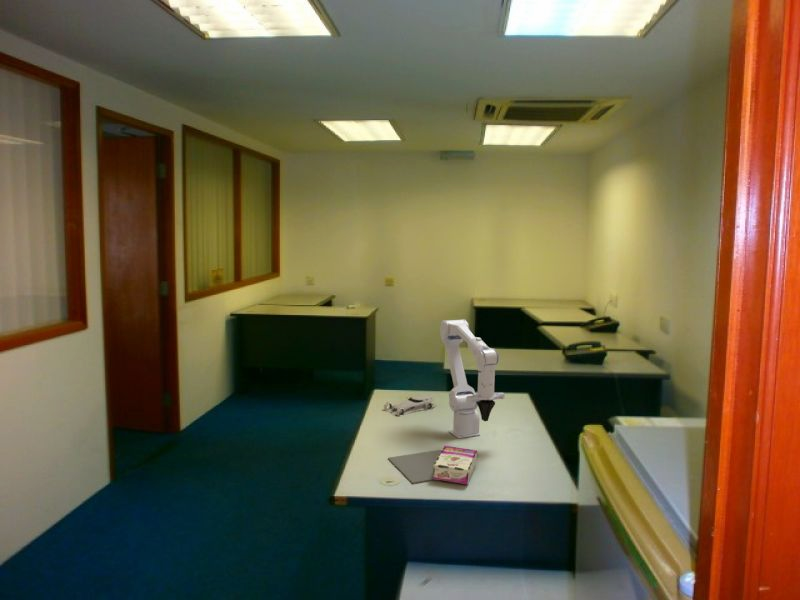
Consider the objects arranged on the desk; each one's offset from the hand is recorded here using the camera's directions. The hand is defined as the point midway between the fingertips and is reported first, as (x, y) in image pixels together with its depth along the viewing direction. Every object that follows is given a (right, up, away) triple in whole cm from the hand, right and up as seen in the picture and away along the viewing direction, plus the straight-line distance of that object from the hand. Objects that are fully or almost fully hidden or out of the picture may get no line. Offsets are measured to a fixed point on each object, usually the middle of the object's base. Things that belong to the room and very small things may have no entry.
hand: (484, 420), depth 201 cm
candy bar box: (-10, -9, -12) cm, 18 cm away
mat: (-21, -12, -15) cm, 28 cm away
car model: (-25, -5, +44) cm, 51 cm away
